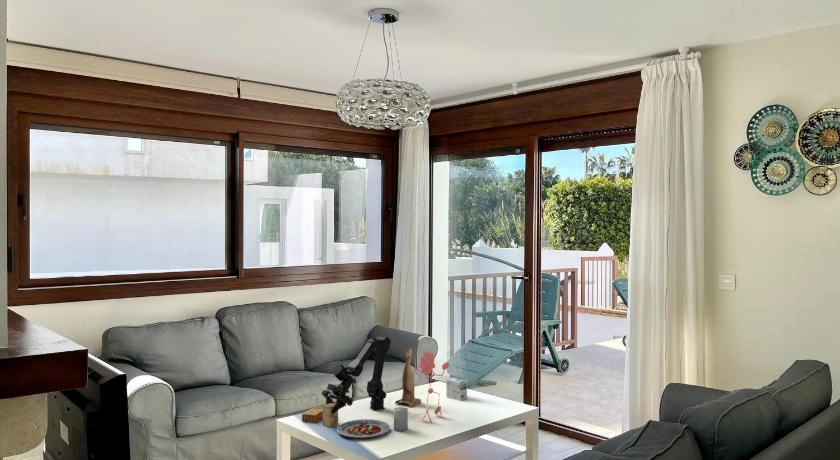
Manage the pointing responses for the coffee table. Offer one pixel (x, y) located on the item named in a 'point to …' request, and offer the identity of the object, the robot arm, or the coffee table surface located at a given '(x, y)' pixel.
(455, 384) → the light bulb box
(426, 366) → the figurine
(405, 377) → the bird sculpture
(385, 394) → the robot arm
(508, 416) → the coffee table surface
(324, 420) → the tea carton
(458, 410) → the coffee table surface
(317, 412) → the carton
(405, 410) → the grey tapered cylinder
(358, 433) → the ceramic plate
